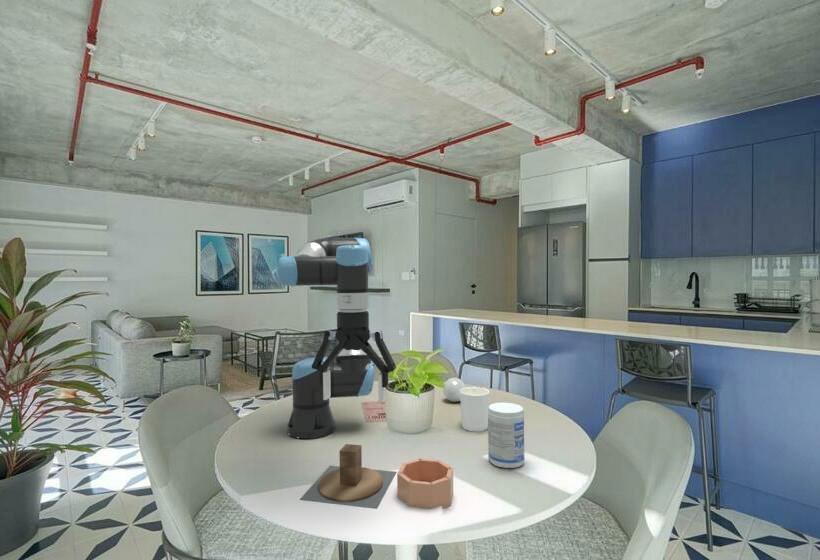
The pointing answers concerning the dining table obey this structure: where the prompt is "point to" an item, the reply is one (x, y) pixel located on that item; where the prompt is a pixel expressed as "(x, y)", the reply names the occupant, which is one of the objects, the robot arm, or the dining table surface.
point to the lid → (350, 478)
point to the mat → (369, 502)
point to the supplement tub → (506, 435)
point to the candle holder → (474, 408)
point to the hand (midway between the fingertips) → (354, 399)
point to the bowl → (425, 483)
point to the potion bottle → (454, 389)
